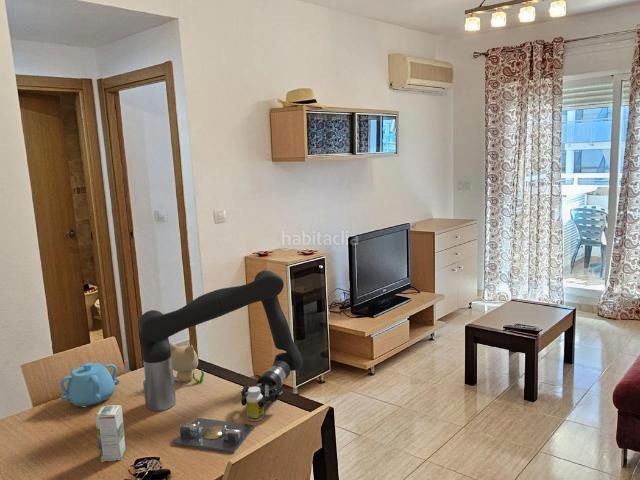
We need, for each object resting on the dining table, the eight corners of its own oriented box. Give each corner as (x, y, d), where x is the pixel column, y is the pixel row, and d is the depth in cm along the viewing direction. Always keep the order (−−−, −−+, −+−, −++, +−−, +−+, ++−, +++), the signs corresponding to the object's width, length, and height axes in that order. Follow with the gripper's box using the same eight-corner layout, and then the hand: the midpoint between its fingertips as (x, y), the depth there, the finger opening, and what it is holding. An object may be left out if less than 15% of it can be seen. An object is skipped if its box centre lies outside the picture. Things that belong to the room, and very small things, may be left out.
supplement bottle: (261, 422, 163) (259, 393, 161) (245, 421, 164) (242, 392, 162) (266, 413, 168) (264, 385, 167) (250, 412, 169) (248, 385, 168)
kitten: (210, 376, 199) (207, 339, 196) (197, 387, 189) (193, 349, 187) (177, 372, 203) (173, 337, 201) (162, 384, 194) (158, 346, 191)
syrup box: (106, 451, 151) (100, 405, 149) (127, 449, 152) (121, 404, 149) (100, 462, 146) (93, 415, 143) (121, 460, 146) (115, 413, 143)
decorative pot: (97, 412, 175) (92, 375, 172) (57, 409, 178) (51, 372, 176) (125, 390, 190) (121, 356, 188) (87, 387, 194) (83, 353, 192)
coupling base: (173, 444, 153) (171, 430, 152) (197, 420, 166) (196, 407, 165) (233, 453, 147) (232, 438, 146) (254, 427, 160) (253, 414, 159)
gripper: (252, 368, 180) (230, 390, 164) (290, 372, 176) (271, 395, 160) (253, 388, 181) (231, 412, 165) (291, 392, 177) (273, 417, 161)
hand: (251, 403), depth 163 cm, fingers closed on supplement bottle, 5 cm apart
